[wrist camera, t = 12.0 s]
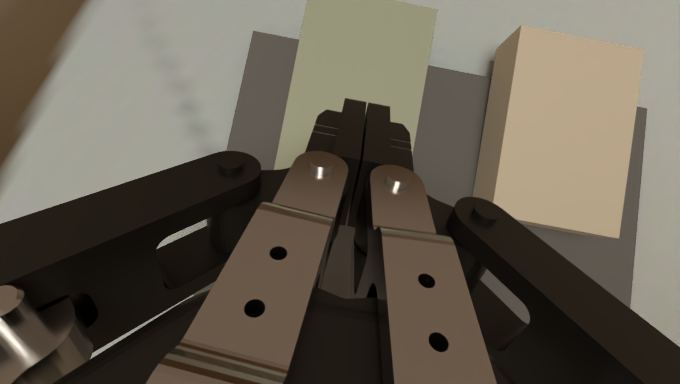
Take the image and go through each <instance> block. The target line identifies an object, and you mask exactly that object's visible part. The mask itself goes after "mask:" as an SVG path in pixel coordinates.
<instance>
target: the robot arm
mask: <svg viewBox="0 0 680 384" xmlns="http://www.w3.org/2000/svg"><path fill="white" fill-rule="evenodd" d="M366 103H367V102H364V101H359V100H354V99H349V98H345V100H344V105H343V109H342V112H338V111H332V110H325V111H324V112H322V113H321V114H319V115H318V116H317V119H316V122H315V125H314V128H313V131H312V133H311V136H310V139H309V142H308V145H307V148H306V151H305V153H303V154H301V155H299V156H298V157H297V158H296V159H295V160H294V162H293V164H292V166H291V167H290V168H286V169H280V170H261V164H260V162H259V161H258V160H257V159H256V158H255V157H253V156H252V155H250V154H247V153H244V152H239V151H223V152H218V153H214V154H211V155H208V156H205V157H202V158H199V159H196V160H193V161H190V162H187V163H184V164H181V165H178V166H175V167H172V168H169V169H166V170H163V171H160V172H157V173H154V174H151V175H148V176H145V177H141V178H138V179H135V180H132V181H129V182H126V183H123V184H120V185H117V186H114V187H111V188H108V189H105V190H102V191H99V192H96V193H93V194H90V195H87V196H84V197H81V198H78V199H75V200H72V201H69V202H66V203H63V204H60V205H57V206H54V207H50V208H47V209H44V210H41V211H38V212H35V213H32V214H29V215H26V216H23V217H20V218H17V219H14V220H11V221H8V222H5V223H2V224H0V384H680V347H679V346H677V345H676V344H675V343H673V342H672V341H671V340H670V339H668V338H667V337H666V336H665V335H663V334H662V333H661V332H659V331H658V330H657V329H656V328H654V327H653V326H652V325H650V324H649V323H648V322H647V321H645V320H644V319H643V318H641V317H640V316H639V315H638V314H636V313H635V312H634V311H632V310H631V309H630V308H629V307H627V306H626V305H625V304H624V303H622V302H621V301H620V300H618V299H617V298H616V297H615V296H613V295H612V294H611V293H609V292H608V291H607V290H606V289H604V288H603V287H602V286H600V285H599V284H598V283H597V282H595V281H594V280H593V279H591V278H590V277H589V276H588V275H586V274H585V273H584V272H583V271H581V270H580V269H579V268H577V267H576V266H575V265H574V264H572V263H571V262H570V261H568V260H567V259H566V258H565V257H563V256H562V255H561V254H559V253H558V252H557V251H556V250H554V249H553V248H552V247H550V246H549V245H548V244H547V243H545V242H544V241H543V240H542V239H540V238H539V237H538V236H536V235H535V234H534V233H533V232H531V231H530V230H529V229H527V228H526V227H525V226H524V225H522V224H521V223H520V222H518V221H517V220H516V219H515V218H513V217H512V216H511V215H509V214H508V213H507V212H506V211H504V210H503V209H502V208H500V207H499V206H498V205H496V204H494V203H492V202H490V201H488V200H485V199H482V198H478V197H464V198H461V199H459V200H458V201H457V202H456V204H455V206H454V207H453V206H450V205H448V204H445V203H443V202H440V201H438V200H436V199H434V198H432V197H430V196H429V195H427V194H426V191H425V187H424V184H423V181H422V180H421V178H420V177H419V176H418V175H416V174H415V173H414V167H413V158H412V151H411V139H410V132H409V131H408V130H407V129H406V127H405V126H404V125H403V124H400V123H395V122H390V106H385V105H380V104H375V103H370V102H368V105H367V109H366ZM365 112H366V114H365ZM349 206H350V209H349ZM348 211H349V217H348V225H347V226H350V227H355V235H354V239H353V243H352V246H351V299H346V298H341V297H339V296H336V295H334V294H332V293H329V292H327V291H325V290H322V289H321V288H322V284H323V280H324V276H325V273H326V269H327V265H328V262H329V258H330V254H331V251H332V247H333V242H334V239H335V238H336V237H337V234H338V230H339V226H340V225H344V226H345V224H346V219H347V215H348ZM205 219H207V226H206V227H203V228H201V229H199V230H197V231H195V232H193V233H190V234H188V235H186V236H184V237H182V238H180V239H178V240H175V241H173V242H171V243H169V244H167V245H165V246H163V247H160V248H158V249H156V248H157V247H158V245H159V244H160V242H161V241H162V240H164V239H165V238H166V237H168V236H170V235H172V234H174V233H176V232H178V231H180V230H183V229H185V228H187V227H189V226H192V225H194V224H196V223H198V222H200V221H203V220H205ZM487 269H488V270H489V271H490V272H491V273H492V274H493V275H494V276H495V277H496V278H497V279H498V280H499V281H500V282H501V283H502V284H503V285H505V286H506V287H507V288H508V289H509V290H510V291H511V292H512V293H513V294H514V295H515V296H516V297H517V298H518V299H519V300H520V301H521V302H522V303H523V304H524V305H525V306H526V308H527V310H528V312H529V315H530V322H529V324H527V323H525V322H524V321H522V320H521V319H520V318H519V317H518V316H517V315H516V314H515V313H514V312H513V311H512V310H511V309H510V308H509V307H508V306H507V305H506V304H505V303H504V302H503V301H502V300H501V299H500V298H499V297H498V296H497V295H495V294H494V293H493V292H492V291H491V290H490V289H489V288H488V287H487V286H486V285H485V284H484V283H483V282H482V281H481V280H480V279H481V278H482V276H483V275H484V273H485V272H486V270H487ZM215 281H216V282H215ZM213 282H215V283H214V285H213V287H212V289H211V290H208V291H205V292H203V293H200V294H198V295H195V296H193V297H191V298H189V299H187V300H185V301H184V302H182V303H180V304H178V305H177V306H175V307H174V308H172V309H170V310H169V311H167V312H166V313H164V314H162V315H161V316H159V317H158V318H156V319H154V320H153V321H151V322H150V323H148V324H146V325H145V326H143V327H142V328H140V329H138V330H137V331H135V332H134V333H132V334H130V335H129V336H127V337H126V338H124V339H122V340H121V341H119V342H117V343H116V344H114V345H113V346H111V347H109V348H108V349H106V350H105V351H103V352H101V353H100V354H98V355H97V356H95V357H93V358H92V359H90V358H91V355H92V353H93V352H95V351H96V350H98V349H100V348H101V347H103V346H105V345H107V344H108V343H110V342H112V341H113V340H115V339H117V338H119V337H120V336H122V335H124V334H126V333H127V332H129V331H131V330H132V329H134V328H136V327H138V326H139V325H141V324H143V323H144V322H146V321H148V320H150V319H151V318H153V317H155V316H156V315H158V314H160V313H162V312H163V311H165V310H167V309H168V308H170V307H172V306H174V305H175V304H177V303H179V302H180V301H182V300H184V299H186V298H187V297H189V296H191V295H193V294H194V293H196V292H198V291H199V290H201V289H203V288H205V287H206V286H208V285H210V284H211V283H213Z"/></svg>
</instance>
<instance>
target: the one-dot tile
mask: <svg viewBox="0 0 680 384" xmlns="http://www.w3.org/2000/svg"><path fill="white" fill-rule="evenodd" d="M437 11H438V10H437V9H432V8H428V7H423V6H418V5H413V4H408V3H403V2H398V1H393V0H307V4H306V9H305V14H304V19H303V24H302V29H301V34H300V39H299V44H298V49H297V54H296V60H295V65H294V70H293V75H292V80H291V85H290V90H289V95H288V100H287V105H286V110H285V115H284V120H283V126H282V131H281V136H280V141H279V146H278V151H277V156H276V161H275V166H274V170H280V169H286V168H290V167H291V166H292V164H293V162H294V160H295V159H296V158H297V157H298V156H299V155H301V154H303V153H305V151H306V148H307V145H308V142H309V139H310V136H311V133H312V131H313V128H314V125H315V122H316V119H317V116H318V115H319V114H321V113H322V112H324V111H325V110H332V111H338V112H342V109H343V105H344V100H345V98H349V99H354V100H359V101H364V102H367V103H366V109H367V105H368V102H370V103H375V104H380V105H385V106H390V122H395V123H400V124H403V125H404V126H405V127H406V129H407V130H408V131H409V132H410V139H411V151H412V154H413V149H414V143H415V137H416V131H417V126H418V120H419V114H420V108H421V103H422V97H423V91H424V85H425V80H426V74H427V68H428V62H429V57H430V51H431V45H432V39H433V34H434V28H435V22H436V16H437ZM365 114H366V112H365Z"/></svg>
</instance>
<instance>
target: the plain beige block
mask: <svg viewBox="0 0 680 384" xmlns="http://www.w3.org/2000/svg"><path fill="white" fill-rule="evenodd" d="M644 51H645V50H643V49H638V48H633V47H628V46H623V45H618V44H613V43H608V42H603V41H598V40H593V39H588V38H583V37H578V36H573V35H568V34H563V33H558V32H554V31H549V30H544V29H539V28H534V27H529V26H524V25H521V26H520V27H519V28H518V29H517V30H516V31H515V32H514V33H513V34H511V35H510V36H509V37H508V38H507V39H506V40H505V41H504V42H503V43H502V44H501V45H500V46H499V47H498V48H497V49H496V54H495V61H494V67H493V73H492V79H491V85H490V91H489V98H488V104H487V110H486V116H485V122H484V128H483V135H482V141H481V147H480V153H479V159H478V165H477V171H476V178H475V184H474V190H473V196H472V197H478V198H482V199H485V200H488V201H490V202H492V203H494V204H496V205H498V206H499V207H500V208H502V209H503V210H504V211H506V212H507V213H508V214H509V215H511V216H512V217H513V218H515V219H516V220H517V221H518V222H520V223H521V224H525V225H531V226H536V227H541V228H547V229H552V230H557V231H563V232H568V233H573V234H579V235H587V236H598V237H608V238H618V239H619V235H620V227H621V220H622V212H623V205H624V198H625V190H626V183H627V176H628V168H629V161H630V154H631V146H632V139H633V132H634V124H635V117H636V110H637V102H638V95H639V88H640V80H641V73H642V66H643V58H644Z"/></svg>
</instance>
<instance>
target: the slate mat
mask: <svg viewBox="0 0 680 384" xmlns="http://www.w3.org/2000/svg"><path fill="white" fill-rule="evenodd" d="M298 44H299V40H297V39H292V38H287V37H282V36H277V35H271V34H266V33H261V32H256V31H253V35H252V39H251V43H250V48H249V52H248V57H247V61H246V66H245V70H244V75H243V79H242V84H241V88H240V93H239V97H238V101H237V106H236V110H235V115H234V119H233V124H232V128H231V133H230V137H229V142H228V146H227V151H239V152H244V153H247V154H250V155H252V156H253V157H255V158H256V159H257V160H258V161H259V162H260V164H261V170H274V166H275V161H276V156H277V151H278V146H279V141H280V136H281V131H282V126H283V120H284V115H285V110H286V105H287V100H288V95H289V90H290V85H291V80H292V75H293V70H294V65H295V60H296V54H297V49H298ZM491 79H492V78H489V77H484V76H479V75H474V74H469V73H464V72H459V71H454V70H449V69H444V68H439V67H434V66H429V65H428V68H427V74H426V80H425V85H424V91H423V97H422V103H421V108H420V114H419V120H418V126H417V131H416V137H415V143H414V149H413V154H412V158H413V167H414V173H415V174H416V175H418V176H419V177H420V178H421V180H422V181H423V184H424V187H425V191H426V194H427V195H429V196H430V197H432V198H434V199H436V200H438V201H440V202H443V203H445V204H448V205H450V206H453V207H454V206H455V204H456V202H457V201H458V200H459V199H461V198H464V197H472V196H473V190H474V184H475V178H476V171H477V165H478V159H479V153H480V147H481V141H482V135H483V128H484V122H485V116H486V110H487V104H488V98H489V91H490V85H491ZM646 115H647V109H646V108H641V107H637V110H636V117H635V124H634V132H633V139H632V146H631V154H630V161H629V168H628V176H627V183H626V190H625V198H624V205H623V212H622V220H621V227H620V235H619V239H618V238H608V237H598V236H587V235H579V234H573V233H568V232H563V231H557V230H552V229H547V228H541V227H536V226H531V225H525V224H522V225H524V226H525V227H526V228H527V229H529V230H530V231H531V232H533V233H534V234H535V235H536V236H538V237H539V238H540V239H542V240H543V241H544V242H545V243H547V244H548V245H549V246H550V247H552V248H553V249H554V250H556V251H557V252H558V253H559V254H561V255H562V256H563V257H565V258H566V259H567V260H568V261H570V262H571V263H572V264H574V265H575V266H576V267H577V268H579V269H580V270H581V271H583V272H584V273H585V274H586V275H588V276H589V277H590V278H591V279H593V280H594V281H595V282H597V283H598V284H599V285H600V286H602V287H603V288H604V289H606V290H607V291H608V292H609V293H611V294H612V295H613V296H615V297H616V298H617V299H618V300H620V301H621V302H622V303H624V304H625V305H626V306H627V307H629V308H630V303H631V291H632V279H633V267H634V256H635V244H636V232H637V221H638V209H639V197H640V185H641V174H642V162H643V150H644V138H645V127H646ZM349 209H350V206H349ZM348 217H349V211H348V215H347V219H346V224H345V226H344V225H340V226H339V230H338V234H337V237H336V238H335V239H334V242H333V247H332V251H331V254H330V258H329V262H328V265H327V269H326V273H325V276H324V280H323V284H322V288H321V289H322V290H325V291H327V292H329V293H332V294H334V295H336V296H339V297H341V298H346V299H351V246H352V243H353V239H354V235H355V227H350V226H347V225H348ZM480 280H481V281H482V282H483V283H484V284H485V285H486V286H487V287H488V288H489V289H490V290H491V291H492V292H493V293H494V294H495V295H497V296H498V297H499V298H500V299H501V300H502V301H503V302H504V303H505V304H506V305H507V306H508V307H509V308H510V309H511V310H512V311H513V312H514V313H515V314H516V315H517V316H518V317H519V318H520V319H521V320H522V321H524V322H525V323H527V324H529V322H530V315H529V312H528V310H527V308H526V306H525V305H524V304H523V303H522V302H521V301H520V300H519V299H518V298H517V297H516V296H515V295H514V294H513V293H512V292H511V291H510V290H509V289H508V288H507V287H506V286H505V285H503V284H502V283H501V282H500V281H499V280H498V279H497V278H496V277H495V276H494V275H493V274H492V273H491V272H490V271H489V270H488V269H487V270H486V272H485V273H484V275H483V276H482V278H481V279H480ZM215 282H216V281H215ZM215 282H213V283H211V284H210V285H208V286H206V287H205V288H203V289H201V290H199V291H198V292H196V293H194V296H195V295H198V294H200V293H203V292H205V291H208V290H211V289H212V287H213V285H214V283H215Z"/></svg>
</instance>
